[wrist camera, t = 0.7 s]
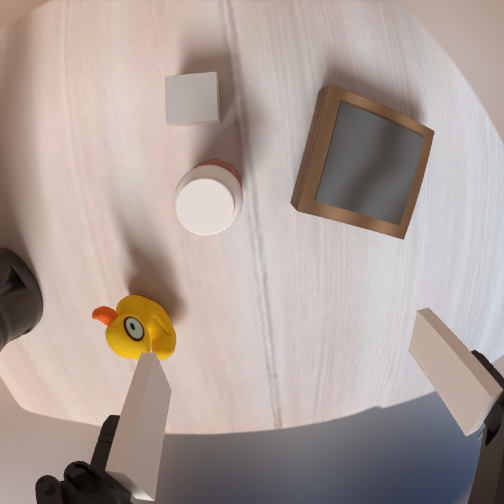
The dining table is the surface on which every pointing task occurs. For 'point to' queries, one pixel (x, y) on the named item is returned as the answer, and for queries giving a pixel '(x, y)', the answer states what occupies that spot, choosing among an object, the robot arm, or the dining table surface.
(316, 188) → the podium
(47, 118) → the dining table surface
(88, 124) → the dining table surface
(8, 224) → the dining table surface
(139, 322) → the duckling
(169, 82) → the stone block
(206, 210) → the pill bottle
